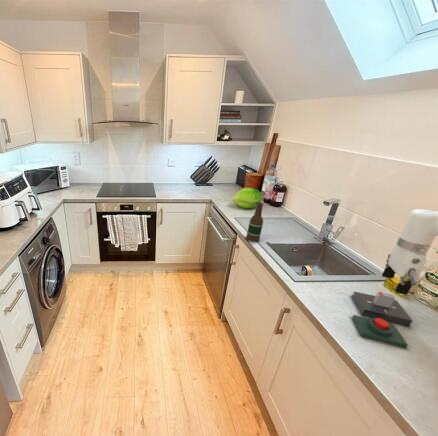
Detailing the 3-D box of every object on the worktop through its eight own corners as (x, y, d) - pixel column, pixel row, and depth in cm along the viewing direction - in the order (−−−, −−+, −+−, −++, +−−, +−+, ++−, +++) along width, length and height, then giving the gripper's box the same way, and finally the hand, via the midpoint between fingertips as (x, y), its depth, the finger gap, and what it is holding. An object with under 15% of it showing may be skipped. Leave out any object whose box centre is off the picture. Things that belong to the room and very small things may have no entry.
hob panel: (393, 306, 96) (396, 300, 94) (408, 326, 86) (412, 320, 85) (351, 296, 100) (354, 291, 99) (361, 315, 91) (364, 309, 90)
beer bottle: (257, 236, 150) (265, 201, 141) (261, 242, 143) (269, 205, 134) (245, 235, 152) (251, 200, 142) (247, 241, 145) (254, 205, 135)
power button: (384, 323, 84) (386, 319, 83) (389, 331, 81) (391, 327, 80) (371, 320, 85) (373, 316, 84) (376, 328, 82) (378, 324, 81)
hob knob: (387, 304, 92) (393, 294, 90) (389, 308, 91) (395, 297, 88) (372, 301, 94) (377, 291, 92) (374, 304, 92) (379, 294, 90)
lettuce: (229, 211, 204) (227, 192, 207) (259, 209, 202) (256, 190, 205) (235, 207, 186) (233, 186, 188) (268, 204, 184) (265, 183, 187)
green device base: (392, 327, 86) (396, 320, 84) (405, 348, 78) (410, 341, 77) (351, 317, 90) (355, 311, 89) (361, 336, 82) (364, 329, 81)
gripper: (445, 259, 73) (421, 302, 79) (412, 235, 87) (394, 273, 94) (412, 255, 75) (392, 297, 82) (386, 232, 90) (371, 270, 97)
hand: (393, 284), depth 88 cm, fingers open, 9 cm apart
